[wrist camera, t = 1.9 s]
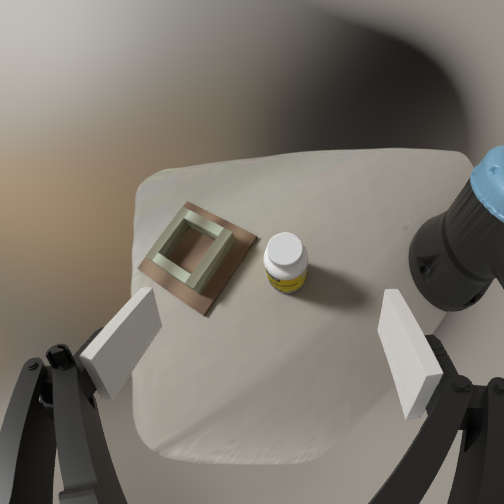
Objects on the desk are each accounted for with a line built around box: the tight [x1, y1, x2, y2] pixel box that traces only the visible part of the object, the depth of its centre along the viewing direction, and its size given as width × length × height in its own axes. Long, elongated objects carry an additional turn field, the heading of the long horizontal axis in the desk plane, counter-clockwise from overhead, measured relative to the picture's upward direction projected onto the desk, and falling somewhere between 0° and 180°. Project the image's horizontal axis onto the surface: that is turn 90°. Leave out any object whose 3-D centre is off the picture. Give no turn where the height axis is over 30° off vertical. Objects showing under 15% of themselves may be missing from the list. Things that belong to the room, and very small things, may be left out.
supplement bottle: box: [264, 232, 308, 293], centre depth 36 cm, size 5×5×10 cm
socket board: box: [138, 201, 257, 316], centre depth 43 cm, size 14×14×4 cm
